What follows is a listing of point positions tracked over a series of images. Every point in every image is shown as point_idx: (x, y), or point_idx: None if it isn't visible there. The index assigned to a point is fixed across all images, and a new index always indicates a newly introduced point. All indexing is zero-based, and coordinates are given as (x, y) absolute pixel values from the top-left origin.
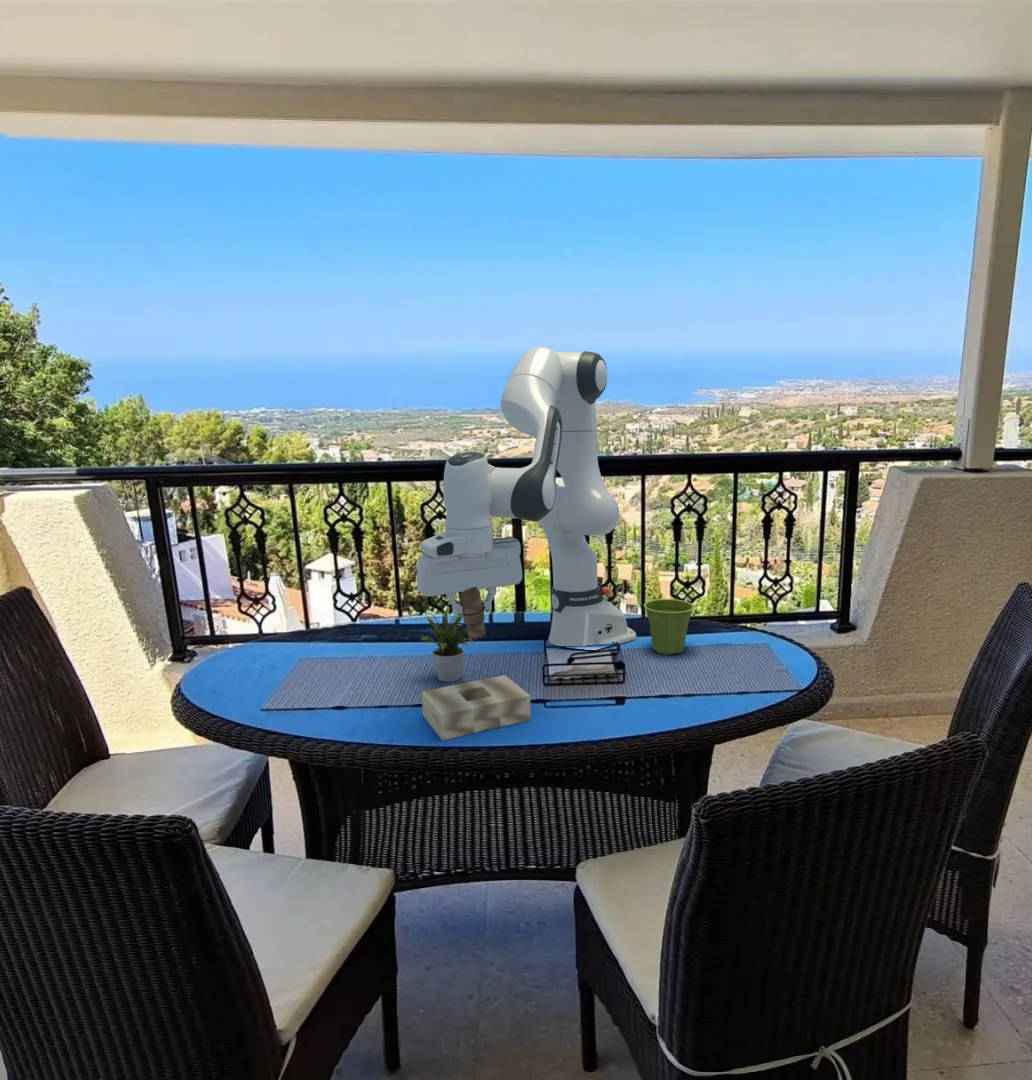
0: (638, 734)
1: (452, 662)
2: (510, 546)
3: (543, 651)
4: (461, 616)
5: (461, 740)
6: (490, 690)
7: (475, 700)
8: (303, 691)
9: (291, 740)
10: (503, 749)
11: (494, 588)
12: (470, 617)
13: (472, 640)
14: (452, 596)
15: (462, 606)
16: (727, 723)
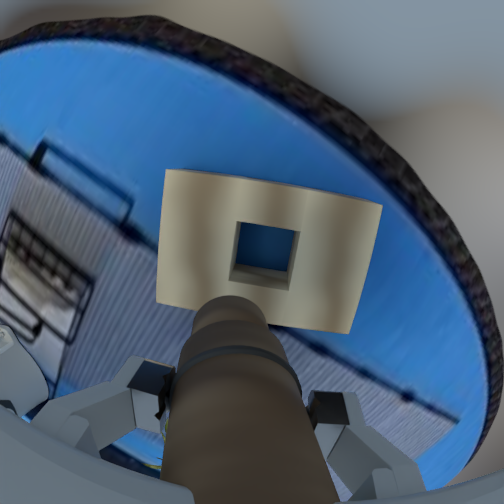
0: (89, 41)
1: None
2: None
3: (60, 378)
4: None
5: (338, 176)
6: (224, 250)
7: (282, 222)
8: (401, 449)
9: (492, 335)
10: (292, 97)
11: (44, 427)
12: (278, 354)
13: (166, 427)
14: (402, 478)
15: (319, 420)
16: (12, 39)
